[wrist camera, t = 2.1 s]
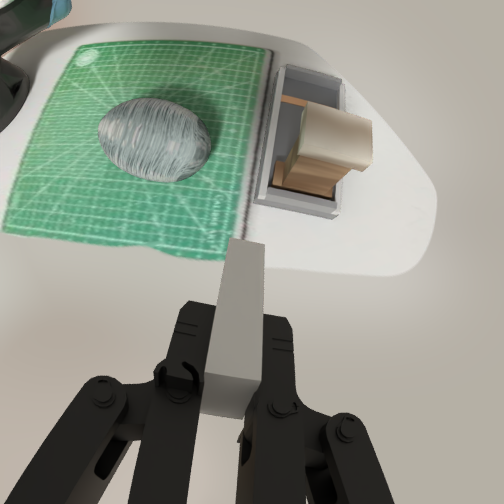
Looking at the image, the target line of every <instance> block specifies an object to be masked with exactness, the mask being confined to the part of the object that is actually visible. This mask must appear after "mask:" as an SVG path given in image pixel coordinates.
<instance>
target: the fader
mask: <svg viewBox="0 0 504 504" xmlns="http://www.w3.org/2000/svg"><path fill="white" fill-rule="evenodd" d="M372 163H373V146H372V121H371V120H368V119H365V118H362V117H360V116H357V115H353V114H350V113H347V112H344V111H341V110H338V109H334V108H331V107H327V106H324V105H320V104H317V103H313V102H309V101H308V102H307V104H306V106H305V108H304V110H303V112H302V117H301V126H300V134H299V136H298V138H297V140H296V142H295V144H294V146H293V148H292V149H291V151H290V153H289V155H288V157H287V159H286V161H285V162H281V161H276V162H275V164H274V171H273V178H272V184H271V187H272V188H277V189H282V190H287V191H291V192H296V193H300V194H305V195H309V196H314V197H318V198H323V199H327V200H329V199H331V198H332V190H333V186H334V185H335V184H336V183H337V182H338V181H340V180H341V179H342V178H343V177H344V176H345V175H346V174H347V173H348V172H349V171H350V170H351V169H354V170H358V171H361V172H363V171H364V170H365V169H366V168H367V167H368V166H370V165H371V164H372Z"/></svg>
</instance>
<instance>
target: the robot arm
mask: <svg viewBox="0 0 504 504" xmlns="http://www.w3.org/2000/svg"><path fill="white" fill-rule="evenodd" d="M71 8H72V4H71V0H0V132H1V131H2V130H3V129H4V128H5V127H6V126H7V125H8V124H9V123H10V122H11V121H12V120H13V118H14V117H15V116H16V114H17V113H18V111H19V110H20V108H21V107H22V105H23V103H24V101H25V99H26V97H27V94H28V90H29V78H28V76H27V75H26V74H25V72H24V71H23V70H22V69H21V68H20V67H18V66H16V65H14V64H12V63H11V62H9V61H7V60H5V59H3V58H2V57H1V55H2V54H4V53H6V52H7V51H9V50H10V49H12V48H13V47H15V46H17V45H18V44H20V43H22V42H23V41H25V40H27V39H28V38H30V37H32V36H34V35H35V34H37V33H39V32H41V31H43V30H45V29H47V28H49V27H51V25H53V24H54V23H56V22H58V21H59V20H61V19H63V18H65V17H66V16H67V15H68V14H69V13H70V11H71ZM264 253H265V244H260V243H255V242H250V241H245V240H240V239H235V238H229V243H228V248H227V253H226V259H225V264H224V269H223V274H222V279H221V284H220V289H219V295H218V300H217V305H216V306H214V305H209V304H204V303H199V302H194V301H188V302H187V303H186V304H185V305H184V306H183V307H182V308H181V309H180V312H179V315H178V318H177V322H176V325H175V328H174V333H173V335H172V339H171V342H170V346H169V349H168V353H167V356H166V359H164V360H163V361H161V362H160V363H159V364H157V366H156V368H155V370H154V371H153V373H154V379H153V380H151V381H149V382H147V383H141V384H121V383H120V382H119V381H118V380H116V379H115V378H112V377H109V376H96V377H94V378H91V379H90V380H89V381H87V382H86V383H85V384H84V386H83V387H82V388H81V390H80V391H79V392H78V394H77V395H76V396H75V398H74V399H73V401H72V402H71V403H70V405H69V406H68V408H67V409H66V410H65V412H64V413H63V415H62V416H61V417H60V419H59V420H58V422H57V423H56V425H55V426H54V428H53V429H52V430H51V432H50V433H49V435H48V436H47V438H46V439H45V440H44V442H43V443H42V445H41V447H40V448H39V449H38V451H37V453H36V454H35V455H34V457H33V458H32V460H31V462H30V463H29V465H28V466H27V468H26V469H25V471H24V472H23V474H22V475H21V477H20V479H19V480H18V482H17V483H16V485H15V487H14V488H13V490H12V491H11V493H10V495H9V496H8V498H7V500H6V502H5V503H4V504H98V502H99V500H100V498H101V497H102V495H103V493H104V491H105V489H106V488H107V486H108V484H109V482H110V481H111V479H112V477H113V475H114V474H115V472H116V470H117V468H118V467H119V465H120V463H121V461H122V460H123V458H124V456H125V454H126V453H127V451H128V449H129V447H130V446H131V444H132V442H133V441H137V440H141V444H140V448H139V453H138V457H137V461H136V466H135V470H134V475H133V479H132V484H131V489H130V494H129V499H128V504H187V496H188V488H189V481H190V473H191V467H192V460H193V453H194V445H195V439H196V433H197V425H198V420H199V413H203V414H208V415H214V416H221V417H227V418H234V419H241V420H242V419H243V417H244V415H245V418H244V419H245V420H244V428H243V430H242V431H241V433H240V435H239V437H238V440H237V443H240V451H239V464H238V477H237V491H236V504H306V497H307V500H308V504H394V501H393V498H392V495H391V493H390V490H389V487H388V485H387V482H386V479H385V477H384V474H383V471H382V469H381V466H380V464H379V461H378V458H377V456H376V453H375V451H374V448H373V446H372V443H371V441H370V438H369V435H368V433H367V430H366V428H365V426H364V424H363V423H362V421H361V420H360V419H359V418H358V417H356V416H355V415H353V414H350V413H338V414H336V415H334V416H333V417H330V416H327V415H324V414H322V413H319V412H316V411H314V410H312V409H310V408H308V407H307V406H306V405H304V404H303V403H302V401H301V400H300V399H299V397H298V395H297V392H296V386H295V365H294V353H293V351H294V349H293V333H292V328H291V326H290V324H289V322H288V320H287V318H286V317H280V316H274V315H268V314H263V301H264Z"/></svg>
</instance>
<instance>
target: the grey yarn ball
mask: <svg viewBox="0 0 504 504" xmlns="http://www.w3.org/2000/svg"><path fill="white" fill-rule="evenodd" d="M98 137H99V141H100V144H101V147H102V149H103V150H104V152H105V154H106V155H107V157H108V158H109V159H110V160H111V161H112V162H113V163H114V164H115V165H116V166H117V167H119V168H120V169H122V170H124V171H125V172H127V173H129V174H131V175H133V176H136V177H139V178H142V179H146V180H150V181H157V182H176V181H181V180H184V179H186V178H188V177H191V176H192V175H194V174H195V173H196V172H198V171H199V170H200V169H201V168H202V167H203V166H204V164H205V163H206V162H207V160H208V157H209V155H210V151H211V140H210V136H209V133H208V130H207V128H206V126H205V124H204V123H203V122H202V120H201V119H200V118H199V117H197V116H196V115H195V114H194V113H193V112H192V111H190V110H188V109H186V108H184V107H182V106H181V105H179V104H176V103H173V102H171V101H167V100H163V99H158V98H138V99H132V100H129V101H126V102H124V103H121V104H119V105H118V106H116V107H114V108H113V109H111V110H110V111H109V112H108V113H107V114H106V115H105V116H104V117H103V118H102V120H101V122H100V123H99V126H98Z"/></svg>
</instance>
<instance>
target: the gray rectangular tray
mask: <svg viewBox="0 0 504 504" xmlns="http://www.w3.org/2000/svg"><path fill="white" fill-rule="evenodd" d="M308 101H309V102H313V103H317V104H320V105H324V106H327V107H331V108H334V109H338V110H341V111H344V112H345V84H343V83H342V79H339V78H336V77H333V76H329V75H326V74H322V73H319V72H315V71H312V70H308V69H304V68H300V67H296V66H292V65H288V64H287V65H286V68H284V67H280V68H279V72H277V73H276V77H275V80H274V86H273V92H272V97H271V103H270V109H269V115H268V120H267V126H266V132H265V138H264V143H263V149H262V155H261V161H260V167H259V173H258V179H257V184H256V190H255V196H254V202H253V203H254V204H259V205H264V206H270V207H275V208H280V209H284V210H289V211H294V212H299V213H304V214H308V215H313V216H318V217H322V218H327V219H331V220H332V219H334V218H335V217H337V216H338V214H339V213H340V212H341V200H342V185H343V178H342V179H341V180H340V181H338V182H337V183H336V184H335V185H334V186H333V190H332V198H331V199H329V200H327V199H323V198H318V197H314V196H309V195H305V194H300V193H296V192H291V191H287V190H282V189H277V188H272V187H271V184H272V178H273V171H274V164H275V162H276V161H281V162H285V161H286V159H287V157H288V155H289V153H290V151H291V149H292V148H293V146H294V144H295V142H296V140H297V138H298V136H299V134H300V126H301V117H302V112H303V110H304V108H305V106H306V104H307V102H308Z"/></svg>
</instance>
